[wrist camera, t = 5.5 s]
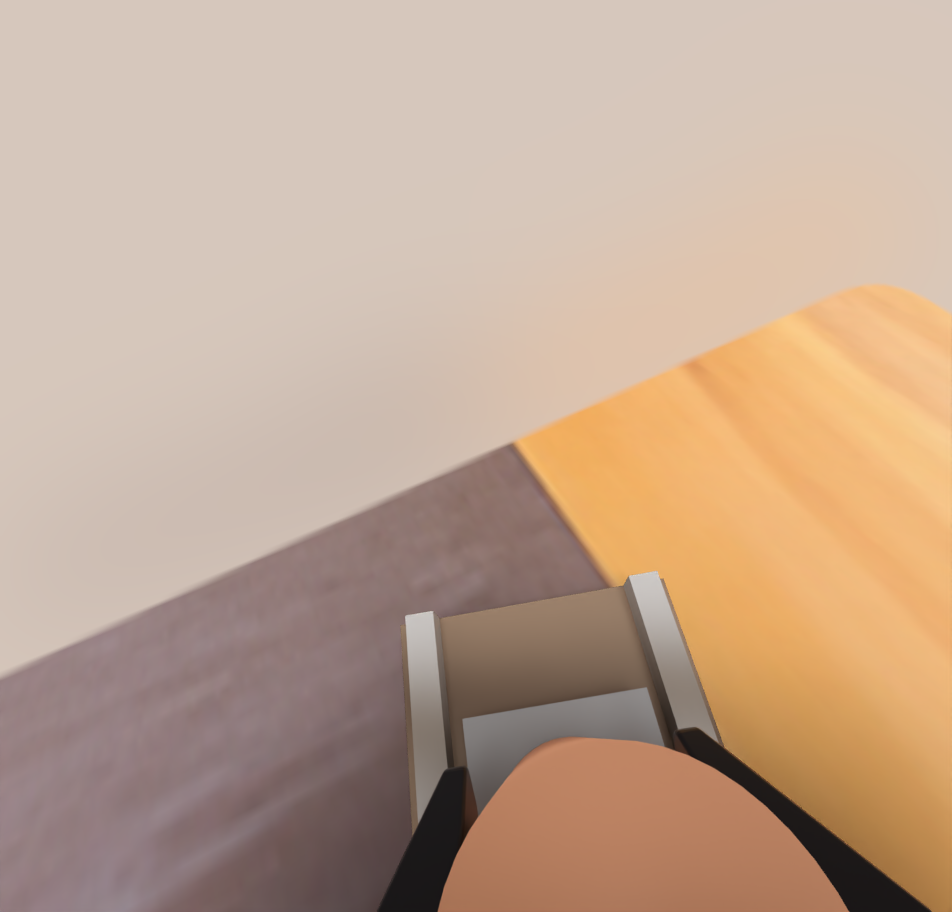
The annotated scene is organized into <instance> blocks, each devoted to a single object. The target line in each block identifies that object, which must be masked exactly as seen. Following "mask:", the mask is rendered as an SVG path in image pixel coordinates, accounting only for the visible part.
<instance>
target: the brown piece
mask: <svg viewBox="0 0 952 912" xmlns="http://www.w3.org/2000/svg"><path fill="white" fill-rule="evenodd" d="M405 620H406V624H405V625H400V626H401V644H402V661H403V679H404V697H405V715H406V732H407V750H408V768H409V786H410V804H411V821H412V836H413V834H414V832H415V830H416V828H417V826H418V823H419V821H420V819H421V817H422V815H423V813H424V811H425V809H426V807H427V805H428V802H429V800H430V798H431V796H432V794H433V792H434V790H435V788H436V786H437V784H438V781H439V779H440V777H441V775H442V773H443V771H444V770H445V769H447V768H452V767H458V766H466V767H467V768H468V765H467V756H466V747H465V738H464V730H463V721H462V719H465V718H471V717H476V716H482V715H488V714H494V713H500V712H506V711H511V710H517V709H523V708H529V707H535V706H540V705H546V704H552V703H558V702H564V701H570V700H575V699H581V698H587V697H593V696H599V695H605V694H610V693H616V692H622V691H628V690H634V689H639V688H645V687H647V690H648V693H649V696H650V700H651V703H652V706H653V710H654V713H655V716H656V719H657V723H658V726H659V729H660V733H661V736H662V739H663V742H664V746H665V747H666V748H669V749H672V750H674V751H675V748H674V738H673V735H674V731H675V730H677V729H682V728H688V727H697V728H700V729H701V730H702V731H704V732H705V733H706V734H708V735H709V736H710V737H711V738H713V739H714V740H715V741H716V742H718V743H719V744H720V745H722V746H723V747H724V745H723V742H722V740H721V737H720V734H719V731H718V729H717V726H716V723H715V720H714V718H713V715H712V712H711V709H710V706H709V704H708V701H707V698H706V695H705V693H704V690H703V687H702V684H701V682H700V679H699V676H698V673H697V670H696V668H695V665H694V662H693V659H692V657H691V654H690V651H689V648H688V646H687V643H686V640H685V637H684V635H683V632H682V629H681V626H680V623H679V621H678V618H677V615H676V612H675V610H674V607H673V604H672V601H671V599H670V596H669V593H668V590H667V588H666V585H665V582H664V579H660V577H659V575H658V572H657V571H654V572H648V573H643V574H637V575H631V576H629V577H628V578H627V580H626V582H625V584H624V585H623V586H619V587H613V588H607V589H602V590H596V591H591V592H585V593H579V594H574V595H568V596H562V597H557V598H551V599H546V600H540V601H534V602H529V603H523V604H517V605H512V606H506V607H501V608H495V609H489V610H484V611H478V612H472V613H467V614H461V615H455V616H450V617H444V618H439V617H438V616H437V615H436V614H435V613H434V612H433V611H429V612H424V613H418V614H412V615H407V616H405Z"/></svg>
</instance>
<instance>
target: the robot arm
mask: <svg viewBox="0 0 952 912" xmlns="http://www.w3.org/2000/svg"><path fill="white" fill-rule="evenodd" d="M673 738H674V748H675V751H677V752H680V753H683V754H686V755H688V756H690V757H692V758H694V759H697V760H699V761H701V762H703V763H705V764H707V765H709V766H711V767H713V768H714V769H716V770H718V771H719V772H721V773H722V774H724V775H725V776H727V777H728V778H730V779H731V780H733V781H734V782H736V783H738V784H739V785H740V786H742V787H743V788H744V789H745V790H747V791H748V792H749V793H750V794H752V795H753V796H754V797H755V798H756V799H758V800H759V801H760V802H761V803H763V804H764V805H765V806H766V807H767V808H768V809H769V810H770V811H771V812H772V813H773V814H774V815H775V816H776V817H777V818H778V819H779V820H780V821H781V822H782V823H783V824H784V825H785V826H786V827H787V828H788V829H789V830H790V831H791V832H792V833H793V834H794V835H795V837H796V838H797V839H798V840H799V841H800V843H801V844H802V845H803V846H804V847H805V848H806V850H807V851H808V852H809V853H810V854H811V856H812V857H813V858H814V859H815V861H816V862H817V863H818V865H819V866H820V868H821V869H822V871H823V872H824V873H825V875H826V876H827V878H828V879H829V881H830V882H831V884H832V885H833V886H834V888H835V889H836V891H837V892H838V894H839V895H840V897H841V899H842V901H843V902H844V904H845V906H846V908H847V909H848V911H849V912H932V911H931V910H930V909H929V908H928V907H927V906H925V905H924V904H923V903H921V902H920V901H919V900H918V899H916V898H915V897H914V896H913V895H911V894H910V893H909V892H907V891H906V890H905V889H904V888H902V887H901V886H900V885H899V884H897V883H896V882H895V881H893V880H892V879H891V878H890V877H888V876H887V875H886V874H885V873H883V872H882V871H881V870H879V869H878V868H877V867H876V866H874V865H873V864H872V863H871V862H869V861H868V860H867V859H865V858H864V857H863V856H862V855H860V854H859V853H858V852H857V851H855V850H854V849H853V848H851V847H850V846H849V845H848V844H846V843H845V842H844V841H843V840H841V839H840V838H839V837H837V836H836V835H835V834H834V833H832V832H831V831H830V830H829V829H827V828H826V827H825V826H823V825H822V824H821V823H820V822H818V821H817V820H816V819H815V818H813V817H812V816H811V815H809V814H808V813H807V812H806V811H804V810H803V809H802V808H801V807H799V806H798V805H797V804H795V803H794V802H793V801H792V800H790V799H789V798H788V797H787V796H785V795H784V794H783V793H781V792H780V791H779V790H778V789H776V788H775V787H774V786H773V785H771V784H770V783H769V782H767V781H766V780H765V779H764V778H762V777H761V776H760V775H758V774H757V773H756V772H755V771H753V770H752V769H751V768H750V767H748V766H747V765H746V764H744V763H743V762H742V761H741V760H739V759H738V758H737V757H736V756H734V755H733V754H732V753H730V752H729V751H728V750H727V749H725V748H724V747H723V746H722V745H720V744H719V743H718V742H716V741H715V740H714V739H713V738H711V737H710V736H709V735H708V734H706V733H705V732H704V731H702V730H701V729H700V728H697V727H688V728H682V729H677V730H675V731H674V735H673ZM477 818H478V810H477V804H476V799H475V794H474V790H473V786H472V782H471V778H470V773H469V770H468V768H467V767H466V766H458V767H452V768H447V769H445V770H444V771H443V773H442V775H441V777H440V779H439V781H438V784H437V786H436V788H435V790H434V792H433V794H432V796H431V798H430V800H429V802H428V805H427V807H426V809H425V811H424V813H423V815H422V817H421V819H420V821H419V823H418V826H417V828H416V830H415V832H414V834H413V836H412V838H411V840H410V842H409V845H408V847H407V849H406V851H405V853H404V855H403V857H402V859H401V861H400V863H399V866H398V868H397V870H396V872H395V874H394V876H393V878H392V880H391V882H390V885H389V887H388V889H387V891H386V893H385V895H384V897H383V899H382V901H381V903H380V906H379V908H378V910H377V912H438V908H439V905H440V901H441V897H442V893H443V890H444V886H445V884H446V881H447V878H448V876H449V873H450V871H451V868H452V865H453V863H454V860H455V858H456V855H457V853H458V851H459V850H460V848H461V846H462V844H463V842H464V840H465V838H466V836H467V834H468V832H469V830H470V829H471V827H472V826H473V824H474V823H475V821H476V820H477Z"/></svg>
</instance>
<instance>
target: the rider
mask: <svg viewBox="0 0 952 912" xmlns="http://www.w3.org/2000/svg"><path fill="white" fill-rule="evenodd" d="M462 721H463V730H464V738H465V747H466V756H467V765H468V770H469V773H470V778H471V782H472V786H473V790H474V794H475V799H476V804H477V810H478V818H477V820H476V821H475V823H474V824H473V826H472V827H471V829H470V830H469V832H468V834H467V836H466V838H465V840H464V842H463V844H462V846H461V848H460V850H459V851H458V853H457V855H456V858H455V860H454V863H453V865H452V868H451V871H450V873H449V876H448V878H447V881H446V884H445V886H444V890H443V893H442V897H441V901H440V905H439V908H438V912H849V911H848V909H847V908H846V906H845V904H844V902H843V901H842V899H841V897H840V895H839V894H838V892H837V891H836V889H835V888H834V886H833V885H832V884H831V882H830V881H829V879H828V878H827V876H826V875H825V873H824V872H823V871H822V869H821V868H820V866H819V865H818V863H817V862H816V861H815V859H814V858H813V857H812V856H811V854H810V853H809V852H808V851H807V850H806V848H805V847H804V846H803V845H802V844H801V843H800V841H799V840H798V839H797V838H796V837H795V835H794V834H793V833H792V832H791V831H790V830H789V829H788V828H787V827H786V826H785V825H784V824H783V823H782V822H781V821H780V820H779V819H778V818H777V817H776V816H775V815H774V814H773V813H772V812H771V811H770V810H769V809H768V808H767V807H766V806H765V805H764V804H763V803H761V802H760V801H759V800H758V799H756V798H755V797H754V796H753V795H752V794H750V793H749V792H748V791H747V790H745V789H744V788H743V787H742V786H740V785H739V784H738V783H736V782H734V781H733V780H731V779H730V778H728V777H727V776H725V775H724V774H722V773H721V772H719V771H718V770H716V769H714V768H713V767H711V766H709V765H707V764H705V763H703V762H701V761H699V760H697V759H694V758H692V757H690V756H688V755H686V754H683V753H680V752H677V751H674V750H672V749H669V748H666V747H665V746H664V742H663V739H662V736H661V733H660V729H659V726H658V723H657V719H656V716H655V713H654V710H653V706H652V703H651V700H650V696H649V693H648V690H647V687H645V688H639V689H634V690H628V691H622V692H616V693H610V694H605V695H599V696H593V697H587V698H581V699H575V700H570V701H564V702H558V703H552V704H546V705H540V706H535V707H529V708H523V709H517V710H511V711H506V712H500V713H494V714H488V715H482V716H476V717H471V718H465V719H462Z"/></svg>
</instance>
